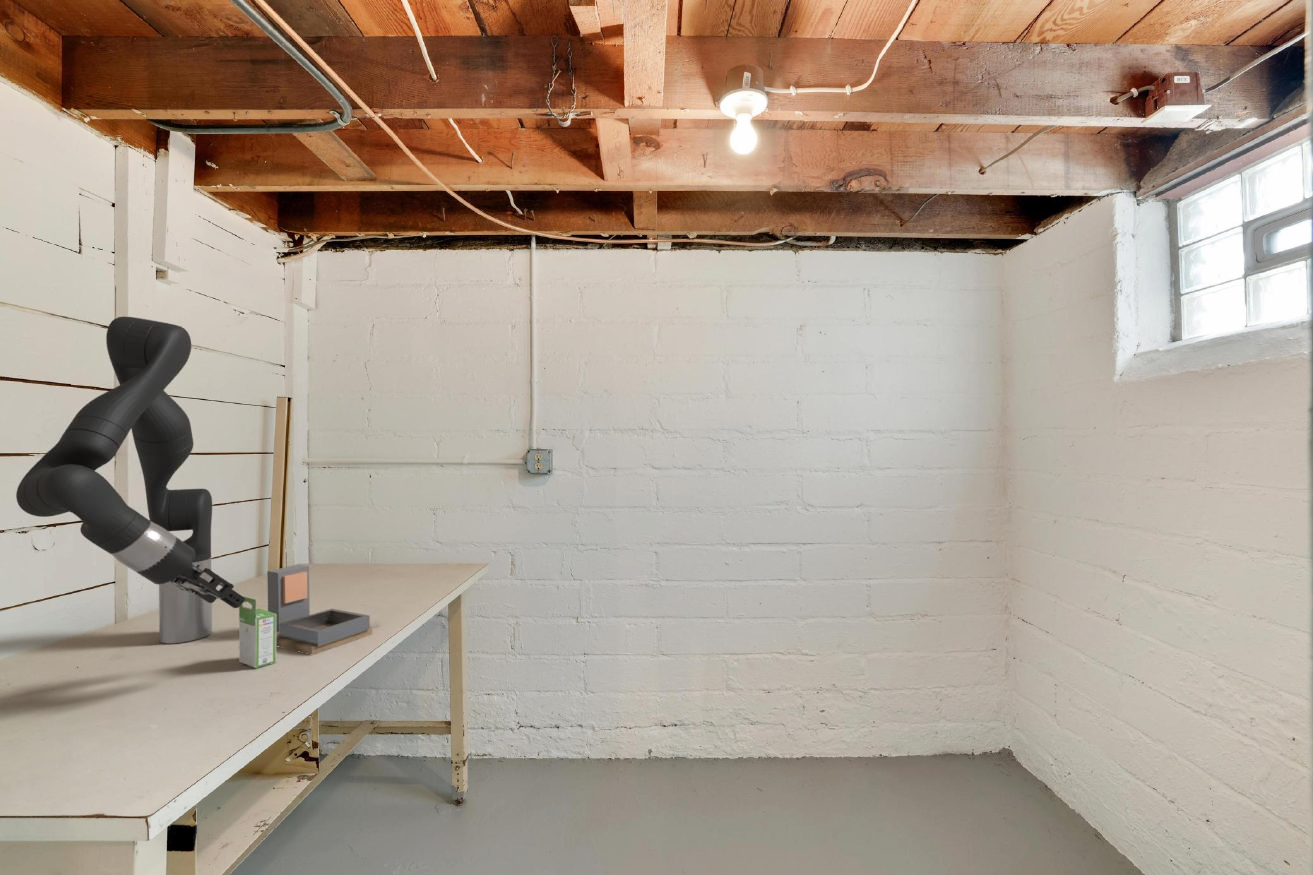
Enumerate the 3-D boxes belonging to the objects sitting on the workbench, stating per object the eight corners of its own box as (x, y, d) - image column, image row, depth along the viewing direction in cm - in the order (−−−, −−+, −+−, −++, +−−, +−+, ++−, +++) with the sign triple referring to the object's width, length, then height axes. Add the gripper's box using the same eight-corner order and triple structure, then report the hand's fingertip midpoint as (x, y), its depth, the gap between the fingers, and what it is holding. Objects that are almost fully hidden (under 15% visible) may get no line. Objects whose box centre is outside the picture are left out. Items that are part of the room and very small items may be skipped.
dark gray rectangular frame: (263, 633, 128) (262, 620, 128) (316, 618, 139) (315, 605, 139) (318, 646, 119) (317, 631, 119) (369, 628, 130) (369, 615, 130)
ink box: (277, 662, 115) (276, 595, 115) (255, 669, 112) (254, 600, 112) (260, 656, 119) (260, 590, 119) (238, 662, 115) (237, 595, 115)
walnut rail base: (249, 639, 129) (249, 632, 129) (310, 621, 141) (310, 615, 141) (311, 655, 119) (311, 647, 119) (372, 633, 131) (372, 627, 131)
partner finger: (268, 628, 131) (267, 571, 131) (299, 619, 138) (298, 564, 138) (281, 631, 129) (280, 573, 129) (311, 622, 135) (311, 566, 135)
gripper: (193, 536, 99) (264, 587, 110) (151, 531, 106) (222, 580, 116) (155, 574, 95) (233, 624, 105) (114, 566, 101) (191, 614, 111)
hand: (227, 601), depth 110 cm, fingers open, 8 cm apart
